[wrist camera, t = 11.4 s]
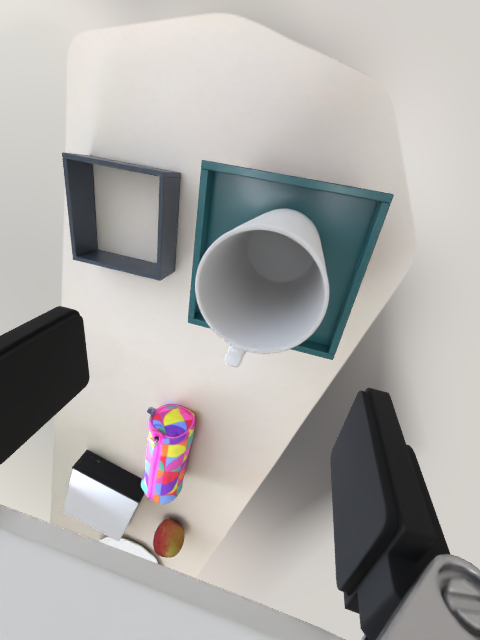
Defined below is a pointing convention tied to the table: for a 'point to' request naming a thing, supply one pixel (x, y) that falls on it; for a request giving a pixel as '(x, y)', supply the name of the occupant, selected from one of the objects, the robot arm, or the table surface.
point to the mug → (264, 284)
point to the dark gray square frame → (84, 217)
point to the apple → (168, 538)
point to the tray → (314, 202)
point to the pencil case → (167, 451)
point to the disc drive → (102, 495)
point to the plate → (130, 548)
